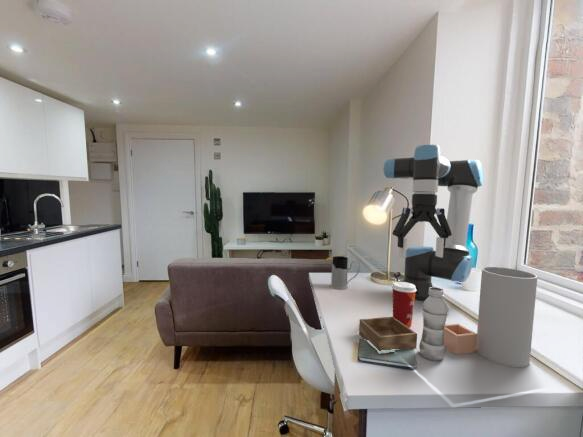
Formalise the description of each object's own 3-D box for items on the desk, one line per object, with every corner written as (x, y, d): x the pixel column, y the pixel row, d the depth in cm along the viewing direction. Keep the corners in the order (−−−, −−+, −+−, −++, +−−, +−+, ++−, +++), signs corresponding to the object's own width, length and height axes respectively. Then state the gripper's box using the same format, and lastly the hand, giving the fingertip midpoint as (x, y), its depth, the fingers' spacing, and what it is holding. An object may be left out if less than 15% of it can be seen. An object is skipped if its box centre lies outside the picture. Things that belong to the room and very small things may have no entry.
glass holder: (330, 283, 148) (331, 255, 147) (358, 285, 146) (359, 257, 145) (330, 289, 139) (331, 259, 138) (359, 291, 138) (361, 260, 136)
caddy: (392, 330, 97) (392, 316, 96) (416, 349, 85) (417, 333, 84) (358, 334, 94) (359, 319, 93) (379, 354, 82) (380, 337, 81)
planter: (456, 341, 90) (458, 323, 90) (475, 353, 83) (477, 334, 83) (438, 343, 88) (439, 325, 88) (456, 356, 82) (457, 336, 81)
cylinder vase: (533, 375, 74) (542, 281, 72) (476, 359, 80) (482, 273, 78) (525, 353, 84) (532, 271, 82) (475, 341, 91) (481, 264, 89)
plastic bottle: (414, 351, 83) (418, 285, 82) (436, 351, 84) (440, 285, 83) (426, 364, 77) (431, 293, 76) (450, 364, 78) (455, 293, 76)
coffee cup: (416, 332, 96) (419, 289, 95) (391, 329, 97) (393, 287, 96) (411, 322, 104) (413, 282, 103) (388, 319, 106) (390, 280, 105)
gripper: (450, 194, 99) (446, 254, 101) (383, 192, 95) (380, 255, 96) (466, 194, 91) (462, 258, 93) (395, 192, 87) (392, 260, 89)
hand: (420, 257), depth 95 cm, fingers open, 13 cm apart
